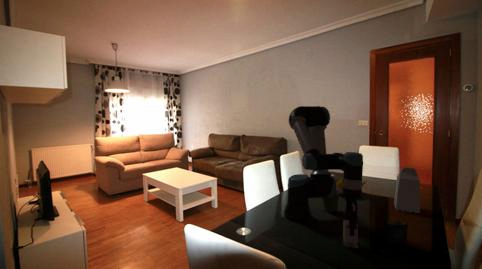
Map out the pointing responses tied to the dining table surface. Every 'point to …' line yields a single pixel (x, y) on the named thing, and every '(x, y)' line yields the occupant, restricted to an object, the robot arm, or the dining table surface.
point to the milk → (407, 191)
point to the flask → (397, 232)
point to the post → (350, 244)
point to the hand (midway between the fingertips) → (350, 238)
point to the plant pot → (331, 202)
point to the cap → (345, 231)
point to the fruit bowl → (340, 185)
